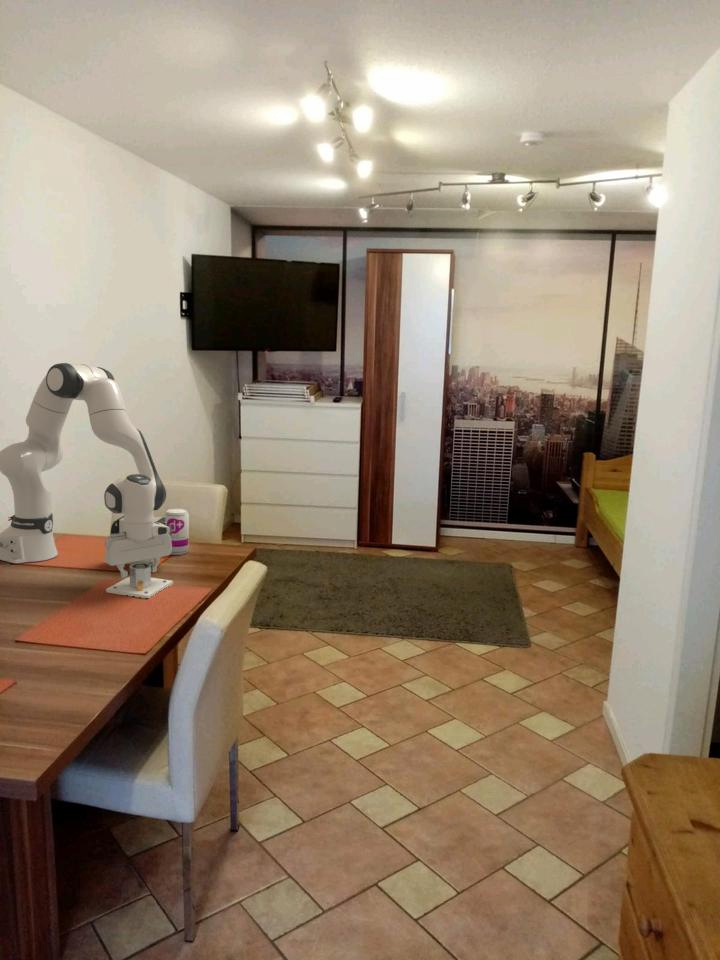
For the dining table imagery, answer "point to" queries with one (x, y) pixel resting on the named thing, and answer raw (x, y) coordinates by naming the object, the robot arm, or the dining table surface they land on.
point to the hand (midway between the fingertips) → (139, 574)
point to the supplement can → (178, 530)
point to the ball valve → (118, 528)
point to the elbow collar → (140, 576)
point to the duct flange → (125, 589)
